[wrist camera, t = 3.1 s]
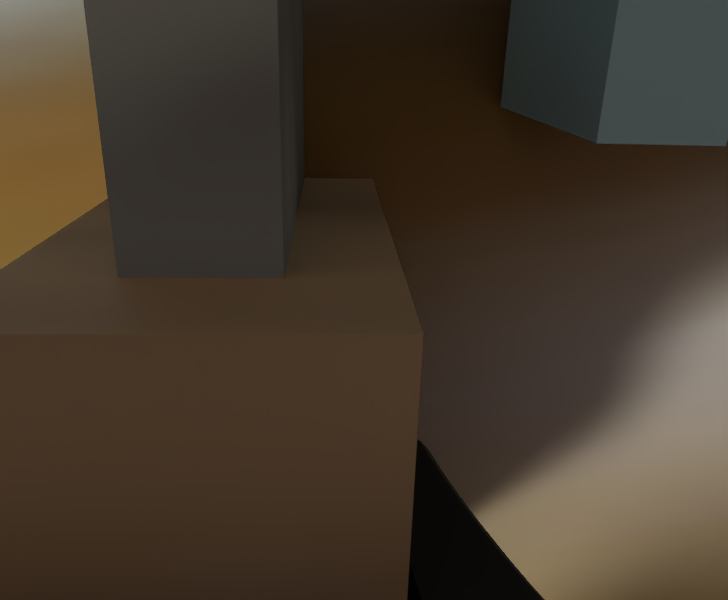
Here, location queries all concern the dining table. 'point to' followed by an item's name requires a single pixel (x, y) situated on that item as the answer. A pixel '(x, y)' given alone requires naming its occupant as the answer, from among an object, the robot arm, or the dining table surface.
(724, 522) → the dining table surface
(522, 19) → the grey boxy pieces
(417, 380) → the rail
